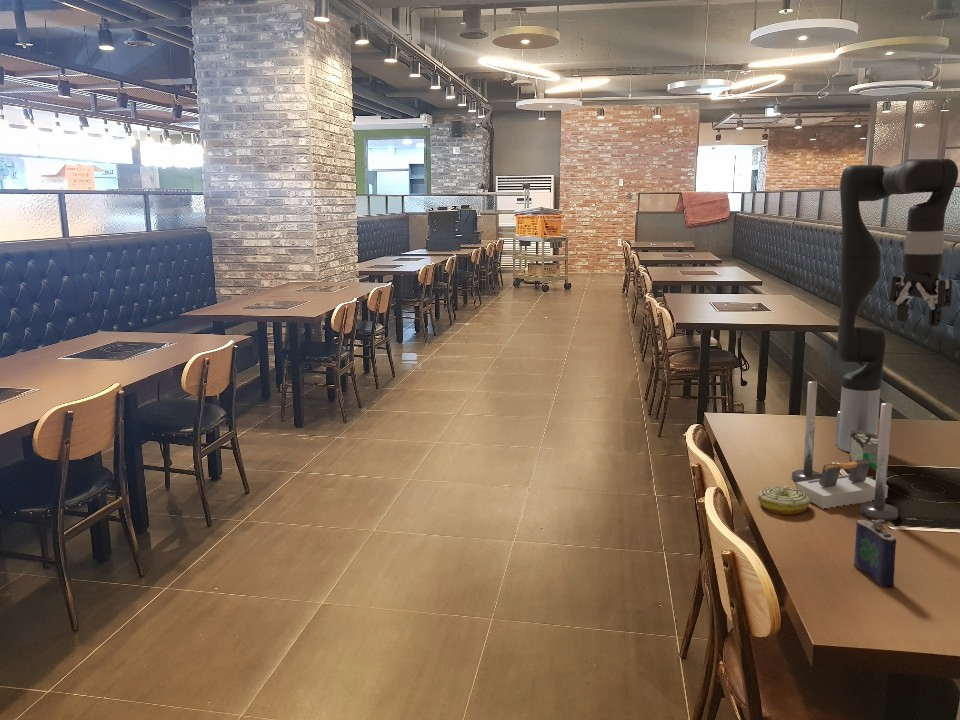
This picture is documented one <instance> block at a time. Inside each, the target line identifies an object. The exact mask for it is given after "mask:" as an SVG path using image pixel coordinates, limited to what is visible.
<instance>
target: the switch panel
mask: <svg viewBox="0 0 960 720" xmlns="http://www.w3.org/2000/svg"><path fill="white" fill-rule="evenodd" d="M849 475H850V473H849V474H843V475H839V476H838V479H837V483H836V486H831V487H825V488H823V487H822V486H821V485H820V484H819V481H820V479H815V480H809V481H802V482H796V483H795V489H797V490H799V491H802V492H803V493H805V494H806V495H807V496H808V497H809V499H810V503H811V502H812V503H814V504H816V505H818V506H820V507H821V508H820V507H819V508H820V509H822V508H823V509H822V510H825V509H824V508H827V509H831V508H830V507H833V508H837V507H836V506H839V507H844V506H843V505H845V506H850V505H849V504H852V505H856V504H857V503H858V504H863V503H866V502H867V501H870V502H873V501H872V500H874V496H875V482H876V481H875V480H873V479H870V478H868V477H866V480H865V481H863V482H856V483H853V482H852V481H850V480H849ZM888 489H889V485H887V484H886V494H885V498H887V499H888V492H889V491H888ZM812 503H811V504H812ZM814 504H813V505H814ZM816 505H815V506H816ZM818 506H817V507H818Z"/></svg>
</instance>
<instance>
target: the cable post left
mask: <svg viewBox="0 0 960 720" xmlns="http://www.w3.org/2000/svg"><path fill="white" fill-rule="evenodd" d="M806 390H807V391H806V393H807V394H806V395H807V396H806V409H805V410H806V413H805V429H804V430H805V432H804V450H803V451H804V452H803V456H804V457H803V468H802V469H797V470H794V471H792V472H791V480H793V481H794V483H795V482H802V481H809V480H815V479H820V478H821V474H822V472H819V471H815V470H813V467H814V466H813V465H814V450H815V449H814V447H815V429H816V415H817V414H816V410H817V393H818V381H814V380H809V381H807V389H806ZM793 481H792V482H793Z"/></svg>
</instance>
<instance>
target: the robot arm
mask: <svg viewBox="0 0 960 720" xmlns="http://www.w3.org/2000/svg"><path fill="white" fill-rule="evenodd" d="M958 179H959V169H958V166H957V164H956V162H955V161H954V160H953V159H950V158H935V159H933V158H929V159H915V160H914V159H913V160H910V161H907V162H905V163H899V164H896V165H893V166H891V167H890V166H884V165H881V164H880V165H879V164H861V165H860V164H859V165H848V166H846V167H845V168H843V171H842V173H841V177H840V184H839V193H840V209H841V210H840V211H841V212H840V213H841V250H840V251H841V256H840V311H839V312H840V313H839V321H838V333H837V353H838V358H839V360H840V361H842V362H845V363H865V364H864V365H863V366H861V367H860V368H859V369H857V370H853V371H850V372H847V373H845V374H843V376H841V377H842V378H841V390H840V391H841V392H840V408H839V410H838V411H837V412H836V426H835V427H836V428H835V429H836V430H835V446H837V448H839V450H842V451H844V452H846V453H847V452H848V453H850V438H849V436H850V430H853V431H863V432H869V433H873V434H876V435H878V425H879V415H880V414H879V411H880V400H881V399H880V398H881V395H880V394H881V384H882V378H883V369H884V361H885V353H886V346H887V345H886V343H887V342H886V339H887V338H886V334H885V332H884V330H883V328H881V327H878V326H877V327H876V326H873V327H872V326H871V327H870V326H869V327H868V326H861V327H860V326H859V327H858V326H856V327H855V324H856V318H857V315H858V313H859V310H860V308H861V306H862V305H863V303H864V302H865V300H866V298H867V297H868V296H869V295H870V293H871V291H872V290H873V289H874V287H875V286H876V285H877V284H878V283H877V282H878V281H879V279H880V277H881V256H882V255H881V249H880V247H879V245H878V243H877V241H876V239H875V238H874V236H873V235H872V234H871V232H870V231H869V229H868V228H867V227H866V225H865V223H864V221H863V219H862V218H863V217H862V215H861V210H860V203H859V202H876V201H880V200H883V199H885V198H887V197H890V196H891V195H909V194H914V193H915V194H917V193H919V194H920V193H931V195H930V197H929V198H928V199H927V201H925V202H921V203H916V204H914V205H911V206H910V207H909V208H908V213H907V224H906V235H905V239H904V249H903V261H902V262H903V263H902V272H903V273H904V275H893V276H892V279H891V286H890V295H889V301H890V302H893V303H895V305H896V306H897V308H896V319H897V321H898V322H900V323H901V322H907V321H908V317H909V305H908V304H909V303H910V301H911V300H912V299H913V298H916V297H917V298H920V299H921V298H922V299H923V300H924V301H925V302H927V304H928V306H929V308H930V309H929V312H928V326H929V327H938V326H939V325H940V323H941V322H942V321H941V319H942V310H943V309H945V308H949V307H951V306H952V291H953V290H952V286H953V285H952V283H953V281H952V279H939V275H940V273H941V272H942V268H943V258H944V257H943V256H944V244H945V238H944V231H945V229H944V228H945V217H946V211H947V208H948V205H949V203H950V199H951V196H952V194H953V191H954V189H955V187H956V184H957V181H958Z"/></svg>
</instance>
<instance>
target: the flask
mask: <svg viewBox="0 0 960 720" xmlns="http://www.w3.org/2000/svg"><path fill="white" fill-rule="evenodd" d="M870 520H871V519H870ZM882 521H883V522H882ZM882 523H884V520H881V519H880V521H879V520H871V521H868V520H866V519H859V520H856V523H855V526H856V527H855V529H856V530H855V541H854V557H853V566H854V568H855V569H856V570H858V571H860V572H861V573H862V574H863V575H864V576H866V577H868V578H870V579H871V581H875V584H878V585H879V586H880V587H882V588H885V589H887V590H888V589H893V588H894V587H895V582H894V581H895V571H896V570H895V562H896V561H895V560H896V547H897V546H896V545H897V538H896V537H895V536H894V535H892V534H891V532H889V531H887V530H886V527H885V525H883V524H882Z"/></svg>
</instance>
